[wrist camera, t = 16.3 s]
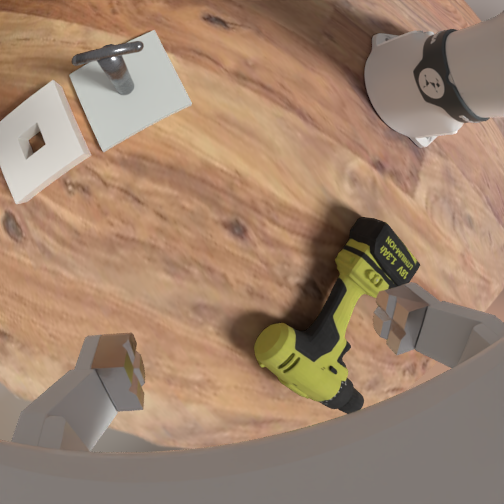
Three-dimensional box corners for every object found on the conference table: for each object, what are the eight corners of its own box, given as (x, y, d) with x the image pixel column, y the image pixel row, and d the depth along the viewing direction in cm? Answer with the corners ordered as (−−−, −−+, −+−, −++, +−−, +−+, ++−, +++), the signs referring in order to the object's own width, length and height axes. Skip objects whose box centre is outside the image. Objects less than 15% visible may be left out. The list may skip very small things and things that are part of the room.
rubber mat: (154, 32, 27) (154, 30, 26) (191, 105, 30) (192, 103, 29) (71, 76, 25) (69, 74, 25) (104, 151, 29) (102, 151, 28)
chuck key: (151, 74, 27) (143, 33, 17) (152, 90, 28) (143, 53, 18) (100, 84, 26) (70, 49, 16) (100, 100, 27) (69, 70, 16)
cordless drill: (430, 307, 47) (336, 409, 47) (361, 208, 39) (236, 343, 40) (455, 322, 40) (354, 433, 41) (392, 214, 33) (247, 372, 33)
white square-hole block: (61, 86, 25) (53, 79, 23) (91, 155, 29) (84, 153, 26) (0, 134, 24) (-12, 132, 22) (27, 201, 28) (16, 204, 25)
